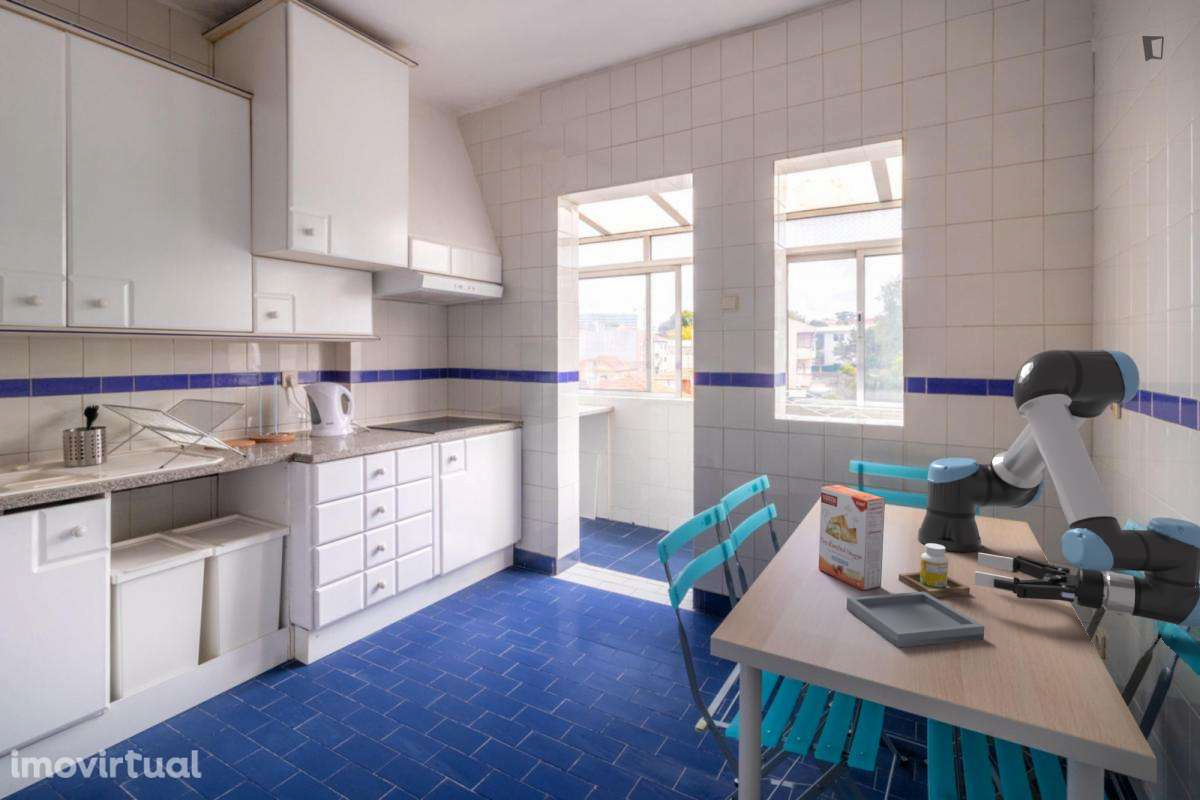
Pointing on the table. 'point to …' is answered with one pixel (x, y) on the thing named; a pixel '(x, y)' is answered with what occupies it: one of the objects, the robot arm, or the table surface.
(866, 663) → the table surface
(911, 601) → the tray
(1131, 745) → the table surface
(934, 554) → the supplement bottle
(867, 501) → the cracker box
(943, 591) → the bottle holder
